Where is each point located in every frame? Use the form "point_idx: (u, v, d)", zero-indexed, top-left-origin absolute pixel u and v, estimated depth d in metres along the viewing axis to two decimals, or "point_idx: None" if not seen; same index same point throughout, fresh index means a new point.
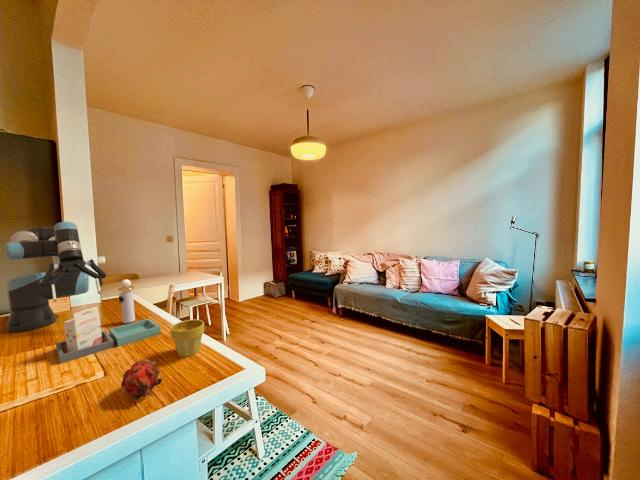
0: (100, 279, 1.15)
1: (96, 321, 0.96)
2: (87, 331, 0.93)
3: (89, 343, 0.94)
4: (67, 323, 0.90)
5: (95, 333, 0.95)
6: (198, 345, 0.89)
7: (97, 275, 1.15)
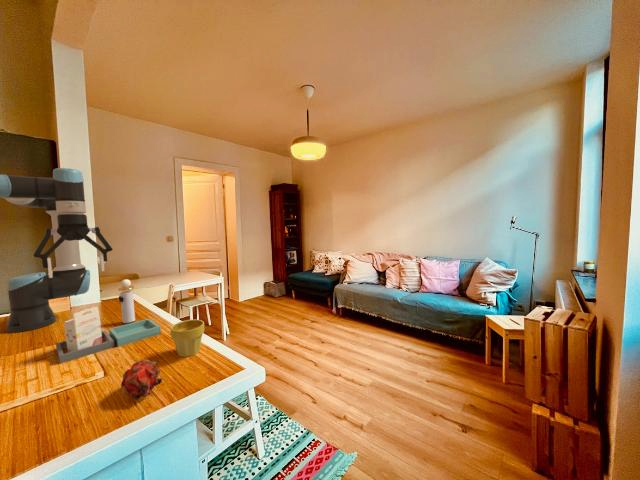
0: (105, 254, 0.98)
1: (96, 321, 0.96)
2: (87, 331, 0.93)
3: (89, 343, 0.94)
4: (67, 323, 0.90)
5: (95, 333, 0.95)
6: (198, 345, 0.89)
7: (102, 249, 0.97)
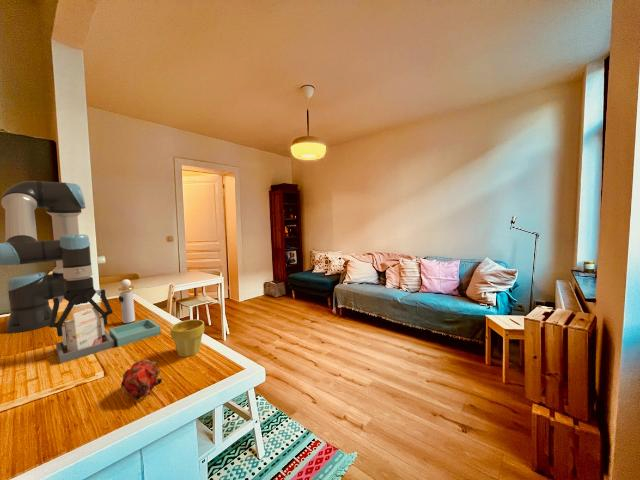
0: (105, 318, 0.98)
1: (96, 321, 0.96)
2: (86, 331, 0.93)
3: (89, 343, 0.94)
4: (67, 323, 0.90)
5: (94, 333, 0.95)
6: (198, 345, 0.89)
7: (103, 313, 0.97)
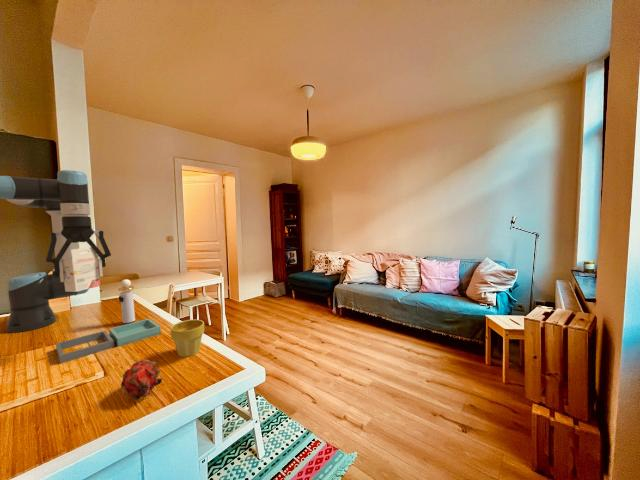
0: (103, 260, 0.97)
1: (94, 262, 0.95)
2: (84, 270, 0.92)
3: (87, 282, 0.92)
4: (64, 259, 0.89)
5: (92, 274, 0.94)
6: (198, 345, 0.89)
7: (101, 254, 0.96)
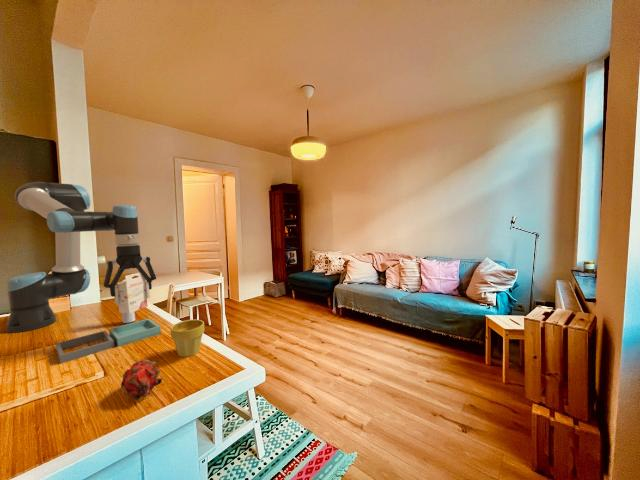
0: (150, 283, 1.08)
1: (142, 285, 1.06)
2: (135, 293, 1.02)
3: (137, 304, 1.03)
4: (119, 285, 0.99)
5: (141, 296, 1.05)
6: (198, 345, 0.89)
7: (148, 278, 1.07)
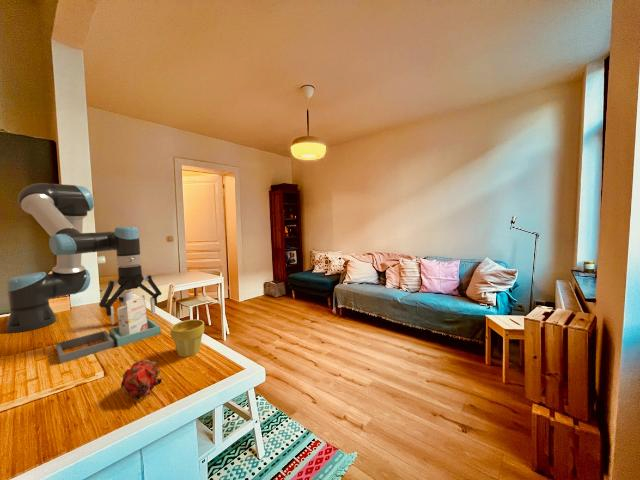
0: (155, 298, 1.10)
1: (143, 309, 1.06)
2: (136, 317, 1.03)
3: (138, 328, 1.04)
4: (120, 309, 1.00)
5: (142, 320, 1.06)
6: (198, 345, 0.89)
7: (153, 295, 1.09)
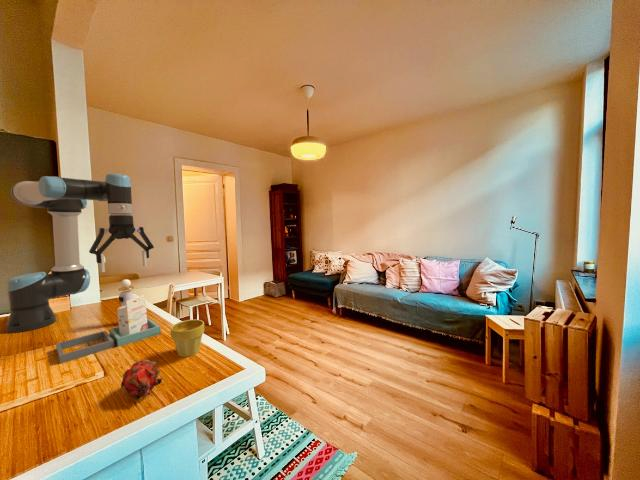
0: (147, 251, 1.08)
1: (143, 309, 1.06)
2: (136, 317, 1.03)
3: (138, 328, 1.04)
4: (120, 309, 1.00)
5: (142, 320, 1.06)
6: (198, 345, 0.89)
7: (145, 247, 1.07)
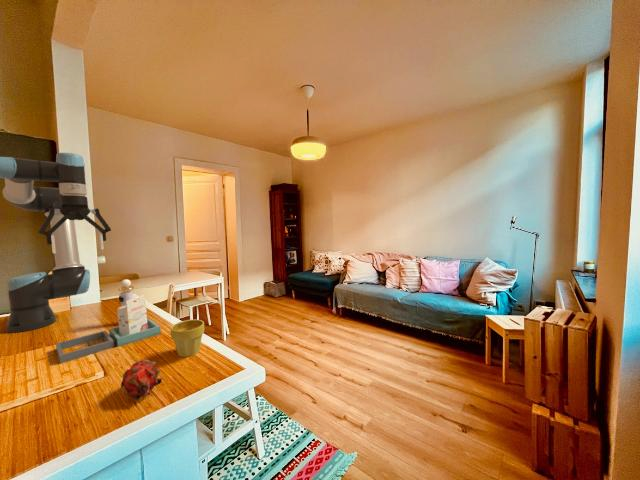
0: (104, 234, 1.06)
1: (143, 309, 1.06)
2: (136, 317, 1.03)
3: (138, 328, 1.04)
4: (120, 309, 1.00)
5: (142, 320, 1.06)
6: (198, 345, 0.89)
7: (101, 229, 1.04)
